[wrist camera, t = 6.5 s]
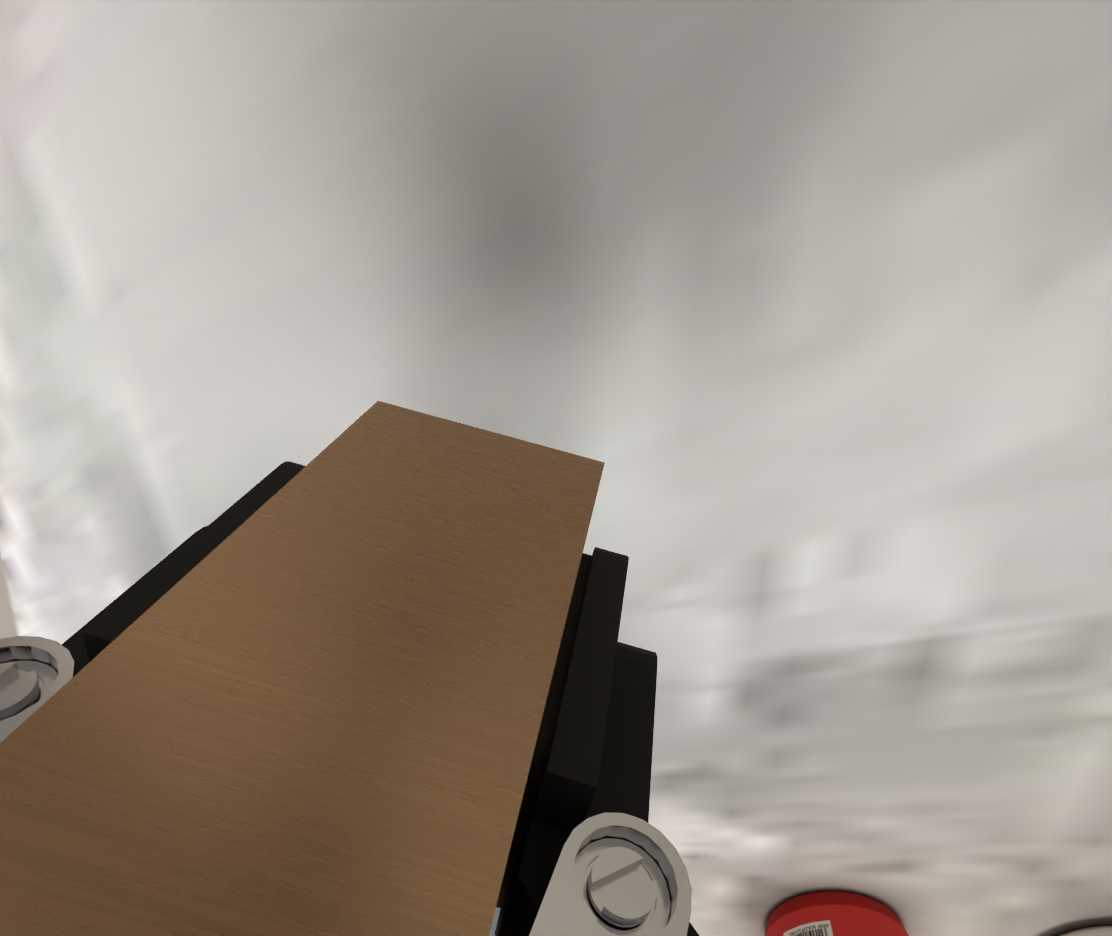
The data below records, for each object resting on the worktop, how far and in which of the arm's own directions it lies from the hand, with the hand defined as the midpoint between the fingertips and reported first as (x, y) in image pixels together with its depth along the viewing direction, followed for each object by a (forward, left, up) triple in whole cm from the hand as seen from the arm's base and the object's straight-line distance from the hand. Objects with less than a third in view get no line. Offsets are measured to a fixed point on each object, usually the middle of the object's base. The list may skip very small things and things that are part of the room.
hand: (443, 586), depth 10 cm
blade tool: (+5, 0, -2) cm, 6 cm away
